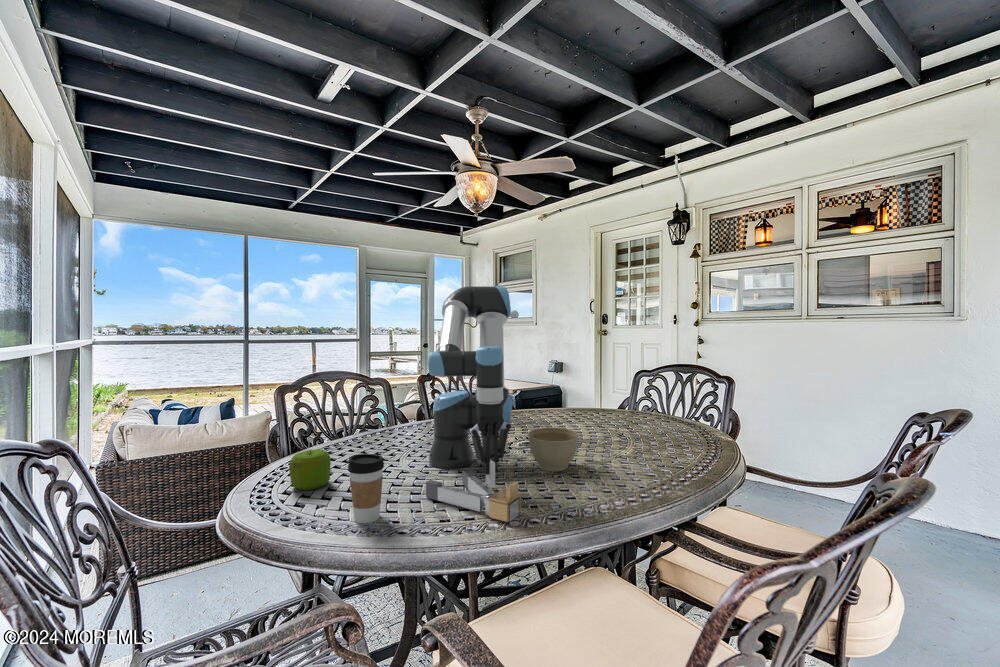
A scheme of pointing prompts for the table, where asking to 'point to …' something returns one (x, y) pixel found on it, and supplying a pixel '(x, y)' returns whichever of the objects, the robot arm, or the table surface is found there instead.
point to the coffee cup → (366, 486)
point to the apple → (310, 469)
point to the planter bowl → (553, 447)
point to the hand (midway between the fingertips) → (490, 484)
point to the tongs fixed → (465, 498)
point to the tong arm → (475, 484)
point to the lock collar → (504, 502)
